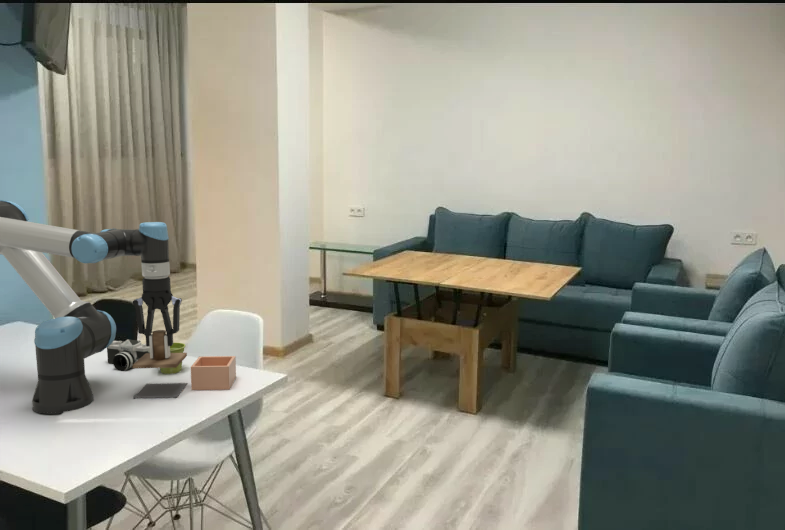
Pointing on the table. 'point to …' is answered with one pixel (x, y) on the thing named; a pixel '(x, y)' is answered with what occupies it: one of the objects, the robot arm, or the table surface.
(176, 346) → the plant pot
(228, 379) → the pink open box
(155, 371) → the table surface
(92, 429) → the table surface
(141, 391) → the mat
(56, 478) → the table surface
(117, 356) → the camera
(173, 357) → the lid
